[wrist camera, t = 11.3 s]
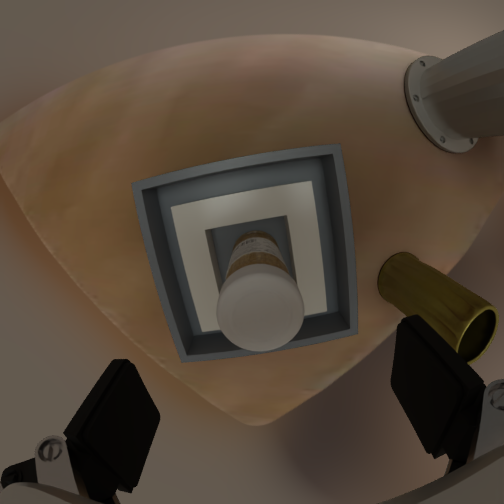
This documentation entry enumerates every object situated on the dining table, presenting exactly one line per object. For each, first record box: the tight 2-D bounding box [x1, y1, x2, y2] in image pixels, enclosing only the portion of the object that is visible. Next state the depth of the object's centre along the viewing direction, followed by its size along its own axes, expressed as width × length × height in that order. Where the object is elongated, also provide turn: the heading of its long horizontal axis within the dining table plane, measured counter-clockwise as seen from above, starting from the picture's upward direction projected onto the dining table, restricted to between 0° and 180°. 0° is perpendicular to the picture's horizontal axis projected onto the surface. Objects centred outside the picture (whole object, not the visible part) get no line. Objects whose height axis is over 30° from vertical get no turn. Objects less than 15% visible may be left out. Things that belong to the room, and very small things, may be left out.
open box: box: [131, 144, 358, 363], centre depth 25 cm, size 18×18×4 cm
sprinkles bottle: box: [216, 231, 305, 351], centre depth 20 cm, size 5×5×13 cm
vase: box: [378, 252, 499, 365], centre depth 21 cm, size 6×6×14 cm
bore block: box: [171, 181, 327, 332], centre depth 25 cm, size 12×12×3 cm
